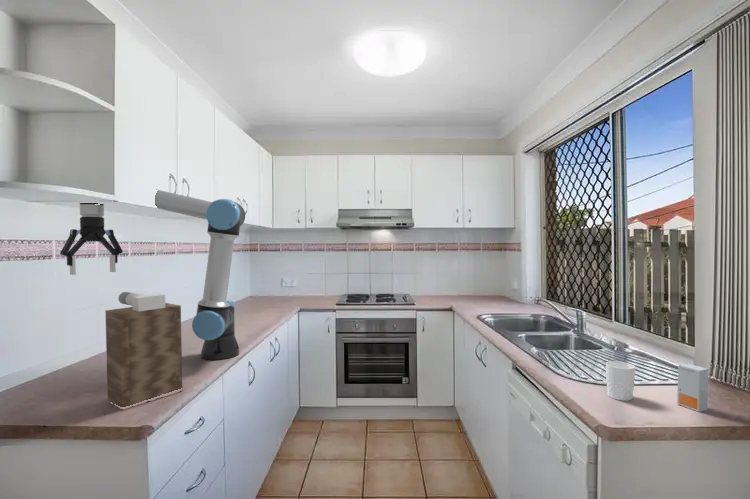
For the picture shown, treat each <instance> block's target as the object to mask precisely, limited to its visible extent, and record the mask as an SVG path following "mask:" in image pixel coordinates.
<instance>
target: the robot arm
mask: <svg viewBox="0 0 750 499" xmlns="http://www.w3.org/2000/svg"><path fill="white" fill-rule="evenodd" d="M157 190H158V191H157V193H156V195H155V205H156V206H157V208H158V210H163V211H168V212H171V213H176V214H180V215H185V216H190V217H193V218H198V219H202V220H203V219H204V220H207V222H208V223H207V224H208V225H207V232H206V234H208V235H209V237H210V242H209V248H208V257H207V263H206V272H205V280H204V288H203V295H202V299H201V300H199V301H198V302H197V307H196V308H197V309H196V314H195V316H194V317H193V320H192V322H191V328H192V331H193V333H194V335H195V336H196V337H197V338H199V339H201V340H204V341H203V344H202V349H201V351H200V356H201V358H202V359H204V360H210V361H211V360H214V361H216V360H218V361H219V360H225V359H227V360H228V359H231V358H234V357H236V356H239V354H240V346H239V344H238V343H239V342H238V341H237V338H236V335H235V333H236V332H235V329H236V328H235V309H236V307H235V302H234V301H232V300H227V297H228V289H229V288H228V287H229V282H230V273H231V265H232V257H233V252H234V251H233V250H234V245H235V244H234V243H235V240H236V239H237V238H238V237H239V236H240V229H241V226H242V225H243V224H244V222H245V220H246V211H245V209H244V208H243V206H242V205H241V204H240V203H239V202H236V201H234V200H232V199H228V198H219V199H216V200H213V201H207V200H205V199H200V198H195V197H191V196H186V195H183V194H178V193H175V192H174V193H173V192H169V191H164V190H159V189H157ZM95 204H98V203H80V202H79V215H80V216H81V217H80V218H79V227H80V229H76V228H73V229H72V228H71V229H70V231H69V236H68V238H67V240H66V241H65V243H64V245H63V247H62V248H61V250H60V253H59V254H60V255H61V256H64V257H66V265H67V266H69V275H72V276H76V275H77V273H76V270H77V269H76V265H77V264H76V256H74V255H75V254H76V253H77V252H78V251H79V250H80V248H81V247H82V246H83V245H84V244H85V243H86V242H98V243H101V244H102V245H103V247H104V248H105V249H106V250H107V251H108V252H109V253H111V254H109V272H110V273H116V264H118V260H119V259H118V256H119V255H120V254H123V252H124V251H123V249H122V248H121V245H120V244H119V242H118V239H117V238H116V236H115V232H114V230H113V229H105V218H104V216H105V204H100V205H95ZM157 208H156V209H157ZM79 235H80V237H79V239H78V241H77V242H76V243H75V244H74V242H75V240H76V239H77V236H79ZM105 235H106V236H107V238H108V240H109V241H110V242H109V241H107V239H106V238H105ZM73 244H74V245H73ZM72 245H73V246H72Z"/></svg>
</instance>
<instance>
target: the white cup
mask: <svg viewBox="0 0 750 499" xmlns="http://www.w3.org/2000/svg"><path fill="white" fill-rule="evenodd" d="M605 372H606V373H605V379H606V386H607V387H606V393H607V397H609V398H611V399H614V400H616V401H621V402H622V401H623V402H625V401H627V402H629V401H631V400H633V398H634V395H633V394H634V388H635V387H634V386H635V377H636V376H635V375H636V366H635V365H634V364H632V363H630V362H629V363H628V362H625V361H620V360H618V361H617V360H615V361H614V360H613V361H612V360H610V361H606V362H605Z"/></svg>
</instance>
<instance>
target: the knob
mask: <svg viewBox="0 0 750 499" xmlns="http://www.w3.org/2000/svg"><path fill="white" fill-rule="evenodd" d="M118 302H119V303H120V304H122V305H127V306H130V307H132V310H134V311H145V310H152V309H160V308H165V303H166V295H165V294H163V293H162V294H161V293H155V294H143V293H142V294H141V293H137V292H136V293H134V292H129V291H123V292H121V293H120V294H119V295H118Z"/></svg>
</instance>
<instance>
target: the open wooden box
mask: <svg viewBox="0 0 750 499" xmlns="http://www.w3.org/2000/svg"><path fill="white" fill-rule="evenodd" d="M181 307H182V305H180V304H174V303H169V302H165V308H160V309H152V310H145V311H134V310H132V306H129V307H123V308H115V309H105V343H106V344H105V345H106V346H105V347H106V348H105V349H106V352H105V353H106V380H107V381H106V383H107V384H106V385H107V402H108V401H109V402H112V403H113V404H116V405H118V406H120V407H126V406H130V405H133V404H136V403H139V402H142V401H144V400H148V399H151V398H154V397H157V396H160V395H162V394H166V393H169V392H172V391H174V390H178V389H181V388H182V389H183V360H182V359H183V356H182V354H183V353H182V351H183V349H182V347H183V346H182V345H183V344H182V308H181Z"/></svg>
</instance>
